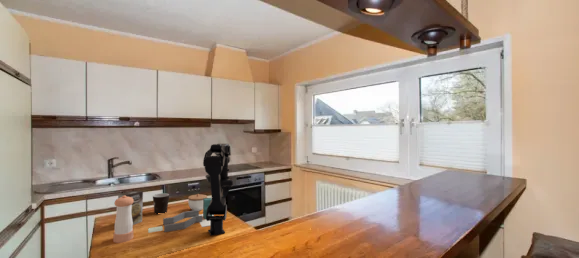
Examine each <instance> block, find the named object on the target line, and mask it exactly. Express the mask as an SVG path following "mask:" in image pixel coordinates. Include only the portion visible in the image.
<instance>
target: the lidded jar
mask: <svg viewBox="0 0 579 258" xmlns="http://www.w3.org/2000/svg"><path fill="white" fill-rule="evenodd" d="M187 198H188V203H187V204H188V206H189V208H190V209H191V211H195V210H199V212H200V211H203V199H204V198H208V195H206V194H199V193H197V194H192V195H189V196H188V197H187Z"/></svg>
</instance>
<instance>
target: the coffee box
mask: <svg viewBox="0 0 579 258" xmlns="http://www.w3.org/2000/svg"><path fill="white" fill-rule="evenodd" d="M124 195H126V196H127V197H132V198H133V200H134V202H133V204H131V205H132V209H131V214H132V221H133V226H134V225H137V224H140V223H142V222H143V207H144V205H143V203H144V202H143V201H144V200H143V198H144V191H141V190H131V191H127V192H123V193H118V194H117V196H118V197H117V199H118V198H120V197H122V196H124Z"/></svg>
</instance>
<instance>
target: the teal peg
mask: <svg viewBox="0 0 579 258" xmlns="http://www.w3.org/2000/svg"><path fill="white" fill-rule="evenodd" d="M211 199H212V197H207V198H204V199H203V209H202V214H203V217H204V219H206V213H207V208H208V206H209V205H210V201H211ZM210 216H212V215H210Z"/></svg>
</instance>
